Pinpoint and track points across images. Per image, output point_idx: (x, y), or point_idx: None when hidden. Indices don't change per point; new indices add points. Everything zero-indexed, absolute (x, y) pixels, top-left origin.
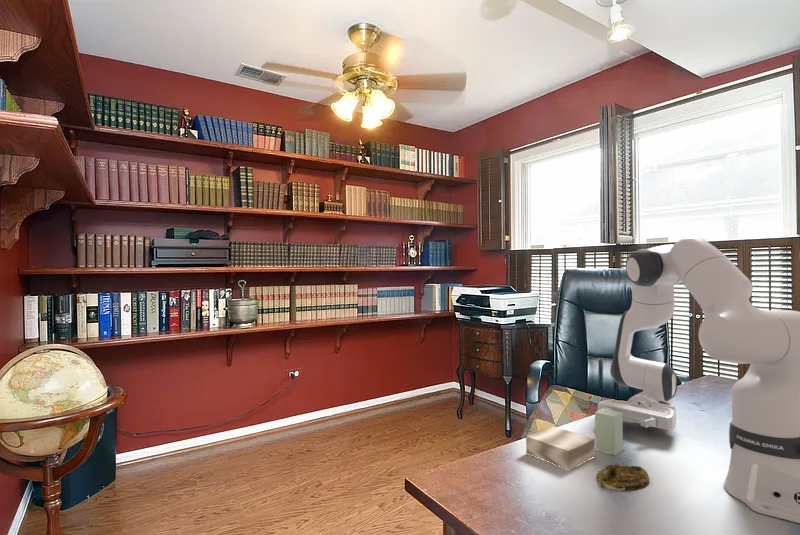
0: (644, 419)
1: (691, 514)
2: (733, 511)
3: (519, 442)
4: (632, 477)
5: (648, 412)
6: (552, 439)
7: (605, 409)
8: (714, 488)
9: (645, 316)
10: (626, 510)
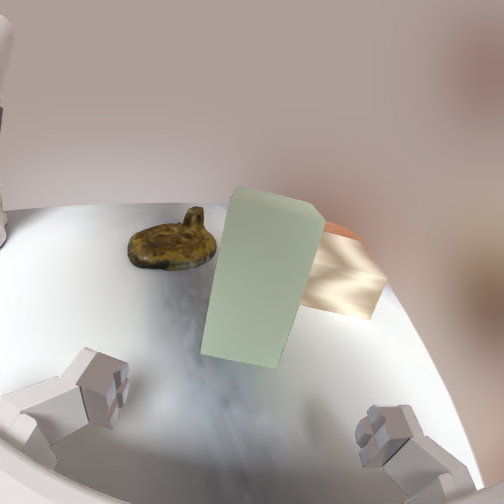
0: (95, 380)
1: (90, 213)
2: (33, 220)
3: (395, 298)
4: (158, 230)
5: (26, 496)
6: (322, 237)
7: (306, 213)
8: (17, 248)
9: None
10: (163, 212)
